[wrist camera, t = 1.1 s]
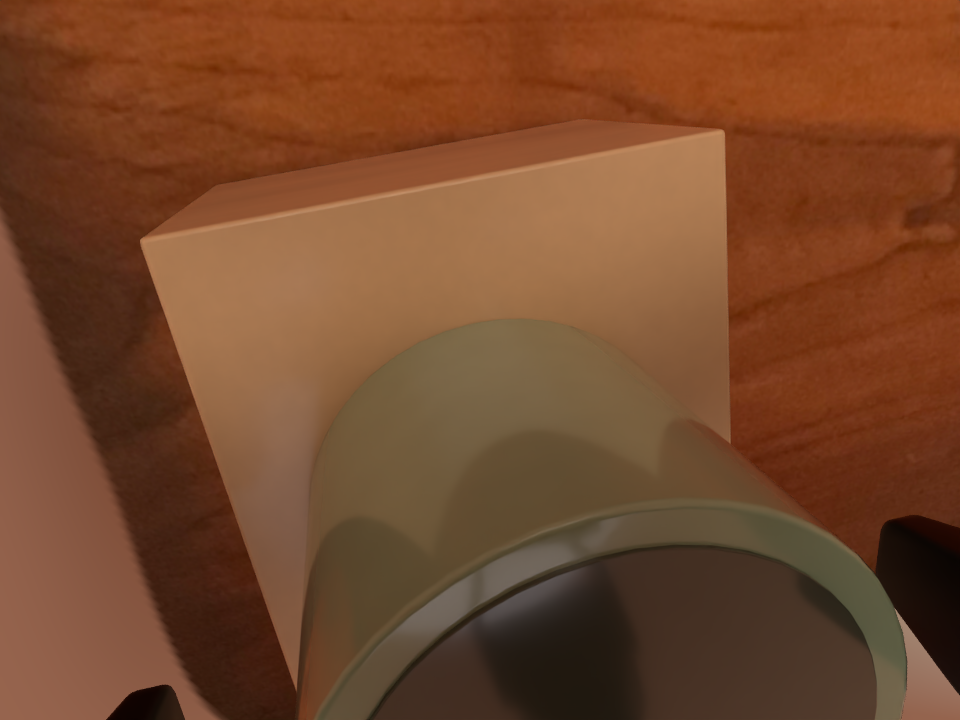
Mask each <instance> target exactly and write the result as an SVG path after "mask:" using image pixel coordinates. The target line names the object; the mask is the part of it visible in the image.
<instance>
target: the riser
mask: <svg viewBox="0 0 960 720" xmlns="http://www.w3.org/2000/svg"><path fill="white" fill-rule="evenodd" d="M140 245H141V248H142V251H143V254H144V257H145V260H146V262H147V265H148V268H149V271H150V274H151V277H152V280H153V282H154V285H155V288H156V291H157V294H158V297H159V300H160V302H161V305H162V308H163V311H164V314H165V317H166V320H167V322H168V325H169V328H170V331H171V334H172V337H173V340H174V342H175V345H176V348H177V351H178V354H179V357H180V360H181V363H182V365H183V368H184V371H185V374H186V377H187V380H188V383H189V385H190V388H191V391H192V394H193V397H194V400H195V403H196V405H197V408H198V411H199V414H200V417H201V420H202V423H203V425H204V428H205V431H206V434H207V437H208V440H209V443H210V446H211V448H212V451H213V454H214V457H215V460H216V463H217V466H218V468H219V471H220V474H221V477H222V480H223V483H224V486H225V488H226V491H227V494H228V497H229V500H230V503H231V506H232V508H233V511H234V514H235V517H236V520H237V523H238V526H239V528H240V531H241V534H242V537H243V540H244V543H245V546H246V549H247V551H248V554H249V557H250V560H251V563H252V566H253V569H254V571H255V574H256V577H257V580H258V583H259V586H260V589H261V591H262V594H263V597H264V600H265V603H266V606H267V609H268V611H269V614H270V617H271V620H272V623H273V626H274V629H275V631H276V634H277V637H278V640H279V643H280V646H281V649H282V652H283V654H284V657H285V660H286V663H287V666H288V669H289V672H290V674H291V677H292V680H293V683H294V686H295V689H296V692H297V677H298V661H299V645H300V629H301V613H302V597H303V581H304V565H305V550H306V534H307V518H308V503H309V491H310V481H311V477H312V473H313V469H314V464H315V460H316V457H317V454H318V452H319V450H320V447H321V445H322V442H323V440H324V437H325V435H326V433H327V431H328V430H329V428H330V426H331V424H332V423H333V421H334V419H335V418H336V416H337V414H338V412H339V411H340V410H341V409H342V407H343V406H344V405H345V403H346V402H347V401H348V400H349V398H350V397H351V396H352V394H353V393H354V392H355V391H356V390H357V389H358V388H359V387H360V386H361V385H362V384H363V383H364V382H365V381H366V380H367V379H368V378H369V377H370V376H371V375H372V374H373V373H374V372H376V371H377V370H378V369H379V368H381V367H382V366H383V365H385V364H386V363H387V362H389V361H390V360H391V359H393V358H394V357H395V356H397V355H398V354H400V353H402V352H404V351H405V350H407V349H409V348H410V347H412V346H414V345H416V344H417V343H419V342H421V341H424V340H426V339H428V338H430V337H433V336H435V335H437V334H440V333H442V332H444V331H448V330H451V329H455V328H458V327H461V326H465V325H468V324H472V323H479V322H485V321H491V320H497V319H534V320H544V321H552V322H556V323H560V324H564V325H568V326H573V327H576V328H578V329H581V330H583V331H586V332H589V333H591V334H594V335H596V336H598V337H600V338H602V339H603V340H605V341H607V342H609V343H610V344H612V345H614V346H616V347H617V348H619V349H620V350H621V351H622V352H624V353H625V354H626V355H627V356H629V357H630V358H631V359H632V360H634V361H635V362H636V363H637V364H638V365H640V366H641V367H642V368H643V369H644V370H645V371H647V372H648V373H649V374H650V375H651V376H652V377H654V378H655V379H656V380H657V381H658V382H659V383H660V384H662V385H663V386H664V387H665V388H666V389H667V390H669V391H670V392H671V393H672V394H673V395H674V396H676V397H677V398H678V399H679V400H680V401H681V402H682V403H684V404H685V405H686V406H687V407H688V408H689V409H691V410H692V411H693V412H694V413H695V414H696V415H698V416H699V417H700V418H701V419H702V420H703V421H704V422H706V423H707V424H708V425H709V426H710V427H711V428H713V429H714V430H715V431H716V432H717V433H718V434H720V435H721V436H722V437H723V438H724V439H725V440H726V441H728V442H729V443H730V444H731V427H730V374H729V322H728V269H727V217H726V165H725V133H724V131H723V130H721V129H713V128H699V127H685V126H671V125H657V124H643V123H629V122H615V121H601V120H587V119H579V120H574V121H568V122H562V123H557V124H551V125H546V126H540V127H535V128H529V129H524V130H518V131H513V132H507V133H502V134H496V135H490V136H485V137H479V138H474V139H468V140H463V141H457V142H452V143H446V144H441V145H435V146H430V147H424V148H419V149H413V150H407V151H402V152H396V153H391V154H385V155H380V156H374V157H369V158H363V159H358V160H352V161H347V162H341V163H335V164H330V165H324V166H319V167H313V168H308V169H302V170H297V171H291V172H286V173H280V174H275V175H269V176H264V177H258V178H252V179H247V180H241V181H236V182H230V183H225V184H219V185H216V186H214V187H213V188H212V189H210V190H209V191H207V192H206V193H205V194H203V195H202V196H200V197H199V198H198V199H196V200H195V201H193V202H192V203H191V204H189V205H188V206H186V207H185V208H184V209H182V210H181V211H179V212H178V213H177V214H175V215H174V216H172V217H171V218H170V219H168V220H167V221H165V222H164V223H163V224H161V225H160V226H158V227H157V228H156V229H154V230H153V231H151V232H150V233H149V234H147V235H146V236H144V237H143V238H142V239H140Z"/></svg>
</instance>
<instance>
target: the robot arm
mask: <svg viewBox="0 0 960 720" xmlns="http://www.w3.org/2000/svg"><path fill="white" fill-rule="evenodd" d="M876 575H877V577H878V579H879V581H880V582H881V584H882V586H883V587H884V589H885V591H886V593H887V594H888V596H889V598H890V599H891V601H892V603H893V606H894V608H895V609H896V610H897V612H898V613H899V614H900V616H901V617H902V619H903V620H904V621H905V622H906V624H907V625H908V627H909V628H910V629H911V631H912V632H913V633H914V635H915V636H916V637H917V639H918V640H919V642H920V643H921V644H922V646H923V647H924V648H925V650H926V651H927V653H928V654H929V655H930V657H931V658H932V659H933V661H934V662H935V663H936V665H937V666H938V668H939V669H940V670H941V671H942V673H943V674H944V675H945V677H946V678H947V680H948V681H949V682H950V684H951V685H952V686H953V687H954V689H955V690H956V691H957V693H959V695H960V528H958V527H955V526H951V525H948V524H945V523H942V522H939V521H935V520H932V519H929V518H926V517H923V516H919V515H909V516H905V517H900V518H896V519H892V520H889V521H887V522H885V524H884V525H883V527H882V529H881V533H880V541H879V548H878V556H877V563H876ZM106 720H185V718H184V715H183V713H182V710H181V707H180V704H179V702H178V699H177V696H176V693H175V691H174V690H173V689H172V687H171V686H169V685H159V686H155V687H151V688H146V689H142V690H137V691H135V692H132V693H131V694H129V695H128V696H127V697H126V698H125V699H124V700H123V701H122V702H121V704H120V705H119V706H118V707H117V708H116V709H115V710H114V712H113V713H112V714H111V715H110V716H109V717H108V718H107V719H106Z"/></svg>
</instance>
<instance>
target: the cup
mask: <svg viewBox="0 0 960 720" xmlns="http://www.w3.org/2000/svg"><path fill="white" fill-rule="evenodd" d="M906 690H907V656H906V650H905V643H904V637H903V632H902V629H901V626H900V623H899V620H898V617H897V615H896V611H895V609H894V606H893V603H892V601H891V599H890V598H889V596H888V594H887V593H886V591H885V589H884V587H883V586H882V584H881V582H880V581H879V579H878V577H877V575H876V574H875V573H874V572H873V571H872V570H871V569H870V568H869V566H868V565H867V564H866V563H865V562H864V561H863V560H862V558H861V557H860V556H859V555H858V554H857V553H856V552H855V551H854V550H853V549H852V548H850V547H849V546H848V545H847V544H846V543H845V542H843V541H842V540H841V539H840V538H839V537H838V536H837V535H835V534H834V533H833V532H832V531H831V530H830V529H828V528H827V527H826V526H825V525H824V524H823V523H821V522H820V521H819V520H818V519H817V518H816V517H815V516H813V515H812V514H811V513H810V512H809V511H808V510H806V509H805V508H804V507H803V506H802V505H801V504H799V503H798V502H797V501H796V500H795V499H794V498H793V497H791V496H790V495H789V494H788V493H787V492H786V491H784V490H783V489H782V488H781V487H780V486H779V485H777V484H776V483H775V482H774V481H773V480H772V479H771V478H769V477H768V476H767V475H766V474H765V473H764V472H762V471H761V470H760V469H759V468H758V467H757V466H755V465H754V464H753V463H752V462H751V461H750V460H748V459H747V458H746V457H745V456H744V455H743V454H742V453H740V452H739V451H738V450H737V449H736V448H735V447H733V446H732V445H731V444H730V443H729V442H728V441H726V440H725V439H724V438H723V437H722V436H721V435H720V434H718V433H717V432H716V431H715V430H714V429H713V428H711V427H710V426H709V425H708V424H707V423H706V422H704V421H703V420H702V419H701V418H700V417H699V416H698V415H696V414H695V413H694V412H693V411H692V410H691V409H689V408H688V407H687V406H686V405H685V404H684V403H682V402H681V401H680V400H679V399H678V398H677V397H676V396H674V395H673V394H672V393H671V392H670V391H669V390H667V389H666V388H665V387H664V386H663V385H662V384H660V383H659V382H658V381H657V380H656V379H655V378H654V377H652V376H651V375H650V374H649V373H648V372H647V371H645V370H644V369H643V368H642V367H641V366H640V365H638V364H637V363H636V362H635V361H634V360H632V359H631V358H630V357H629V356H627V355H626V354H625V353H624V352H622V351H621V350H620V349H619V348H617V347H616V346H614V345H612V344H610V343H609V342H607V341H605V340H603V339H602V338H600V337H598V336H596V335H594V334H591V333H589V332H586V331H583V330H581V329H578V328H576V327H573V326H568V325H564V324H560V323H556V322H552V321H544V320H534V319H497V320H491V321H485V322H479V323H472V324H468V325H465V326H461V327H458V328H455V329H451V330H448V331H444V332H442V333H440V334H437V335H435V336H433V337H430V338H428V339H426V340H424V341H421V342H419V343H417V344H416V345H414V346H412V347H410V348H409V349H407V350H405V351H404V352H402V353H400V354H398V355H397V356H395V357H394V358H393V359H391V360H390V361H389V362H387V363H386V364H385V365H383V366H382V367H381V368H379V369H378V370H377V371H376V372H374V373H373V374H372V375H371V376H370V377H369V378H368V379H367V380H366V381H365V382H364V383H363V384H362V385H361V386H360V387H359V388H358V389H357V390H356V391H355V392H354V393H353V394H352V396H351V397H350V398H349V400H348V401H347V402H346V403H345V405H344V406H343V407H342V409H341V410H340V411H339V412H338V414H337V416H336V418H335V419H334V421H333V423H332V424H331V426H330V428H329V430H328V431H327V433H326V435H325V437H324V440H323V442H322V445H321V447H320V450H319V452H318V454H317V457H316V460H315V464H314V469H313V473H312V477H311V481H310V491H309V503H308V518H307V534H306V550H305V565H304V581H303V597H302V613H301V629H300V645H299V661H298V677H297V693H296V708H295V720H901V719H902V712H903V707H904V702H905V696H906Z"/></svg>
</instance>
